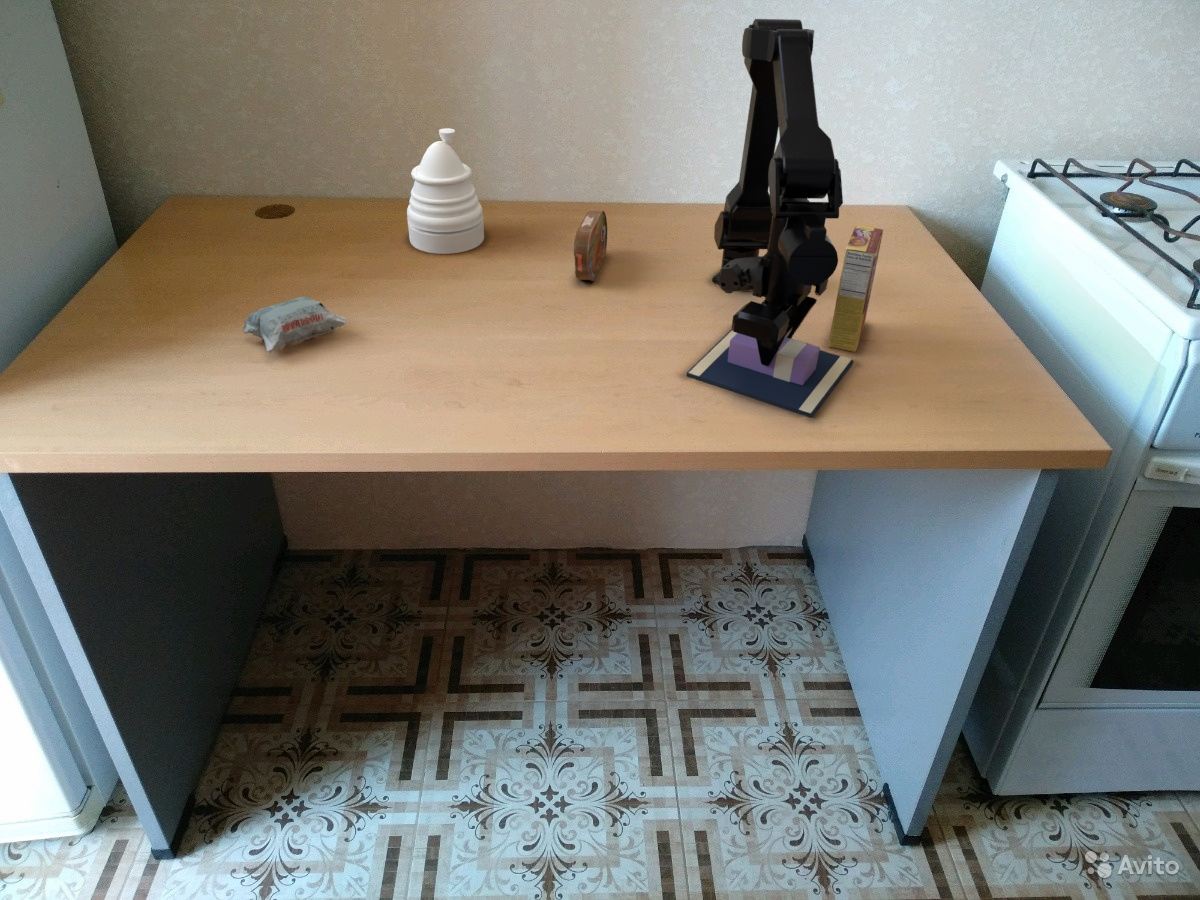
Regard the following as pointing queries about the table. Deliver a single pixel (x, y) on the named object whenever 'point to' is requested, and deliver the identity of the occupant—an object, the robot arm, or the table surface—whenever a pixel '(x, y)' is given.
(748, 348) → the chocolate
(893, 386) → the table surface
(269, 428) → the table surface
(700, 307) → the table surface
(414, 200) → the honey pot
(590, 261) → the tin
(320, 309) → the packaged food
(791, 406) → the towel
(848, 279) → the candy box
